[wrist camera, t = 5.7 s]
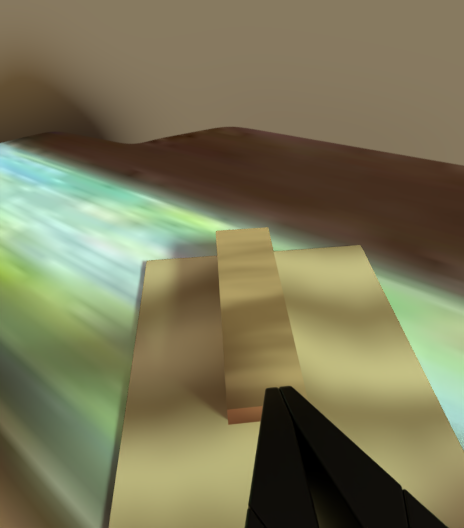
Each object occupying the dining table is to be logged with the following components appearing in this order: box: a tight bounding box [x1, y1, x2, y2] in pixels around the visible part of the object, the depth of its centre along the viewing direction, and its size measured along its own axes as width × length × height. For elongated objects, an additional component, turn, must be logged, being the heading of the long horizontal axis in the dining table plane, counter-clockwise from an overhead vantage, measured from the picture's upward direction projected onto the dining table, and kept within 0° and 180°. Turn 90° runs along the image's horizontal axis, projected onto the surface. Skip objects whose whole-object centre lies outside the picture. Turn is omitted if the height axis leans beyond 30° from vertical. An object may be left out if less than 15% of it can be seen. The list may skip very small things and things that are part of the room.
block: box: [216, 227, 308, 425], centre depth 16 cm, size 4×4×12 cm
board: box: [109, 245, 464, 528], centre depth 15 cm, size 24×20×1 cm
